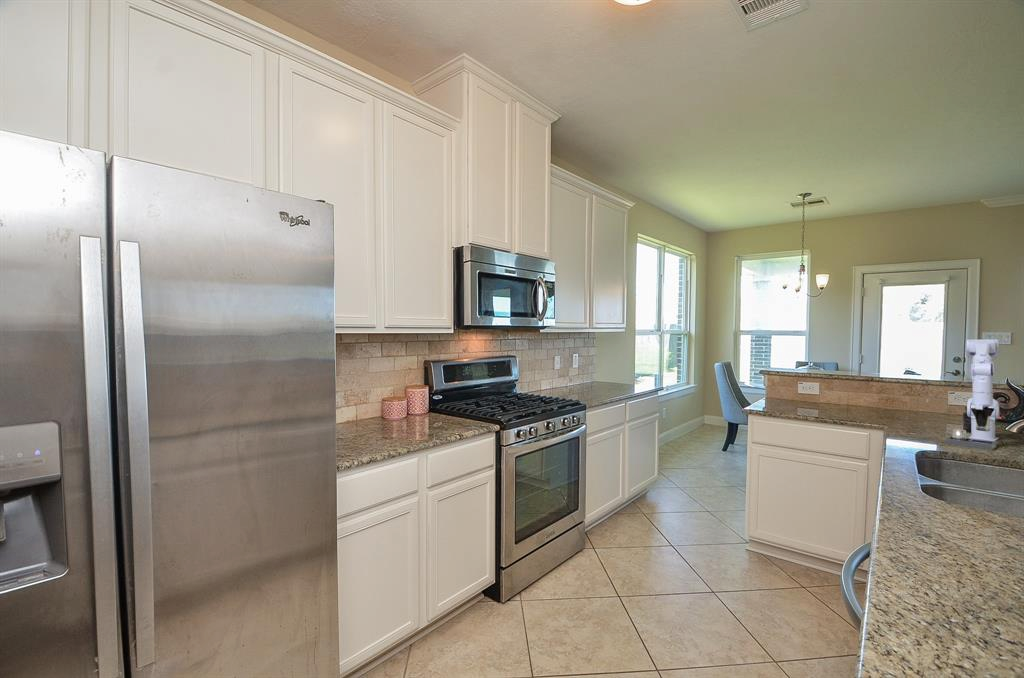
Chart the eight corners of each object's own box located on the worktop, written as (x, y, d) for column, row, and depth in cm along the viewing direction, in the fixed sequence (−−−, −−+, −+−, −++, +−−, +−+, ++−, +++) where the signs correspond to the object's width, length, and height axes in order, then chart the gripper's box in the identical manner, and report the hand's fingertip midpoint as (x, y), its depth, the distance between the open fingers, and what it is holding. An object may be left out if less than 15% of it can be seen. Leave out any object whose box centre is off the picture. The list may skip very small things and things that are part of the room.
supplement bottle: (974, 431, 215) (974, 406, 215) (987, 433, 208) (987, 408, 208) (958, 430, 216) (958, 405, 216) (971, 433, 209) (971, 408, 209)
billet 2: (977, 429, 184) (976, 414, 184) (991, 430, 180) (991, 415, 180) (974, 430, 181) (974, 415, 181) (989, 431, 178) (989, 416, 178)
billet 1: (953, 442, 188) (953, 428, 188) (967, 444, 185) (967, 429, 185) (951, 443, 186) (951, 429, 186) (965, 445, 183) (964, 430, 183)
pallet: (951, 442, 191) (951, 436, 191) (996, 448, 180) (996, 441, 180) (945, 444, 186) (945, 438, 186) (991, 451, 175) (991, 444, 175)
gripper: (993, 394, 174) (993, 429, 173) (1000, 392, 182) (1000, 425, 182) (967, 392, 179) (968, 426, 179) (975, 390, 188) (975, 423, 188)
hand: (982, 425), depth 181 cm, fingers closed on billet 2, 4 cm apart
